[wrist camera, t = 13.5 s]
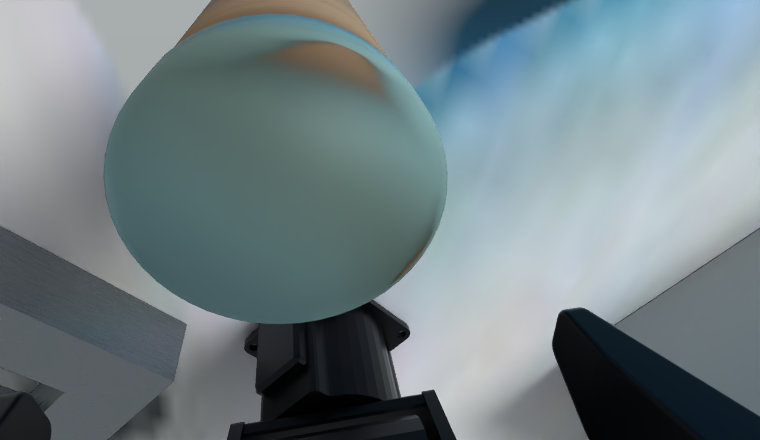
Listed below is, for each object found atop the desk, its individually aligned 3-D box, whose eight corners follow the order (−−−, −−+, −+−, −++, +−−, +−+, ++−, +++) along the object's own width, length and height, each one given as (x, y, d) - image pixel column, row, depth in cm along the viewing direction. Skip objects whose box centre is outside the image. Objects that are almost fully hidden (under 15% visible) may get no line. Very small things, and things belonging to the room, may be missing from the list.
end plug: (305, 118, 19) (329, 358, 9) (189, 44, 17) (47, 248, 7) (378, 13, 18) (511, 160, 7) (260, -84, 16) (213, -67, 5)
